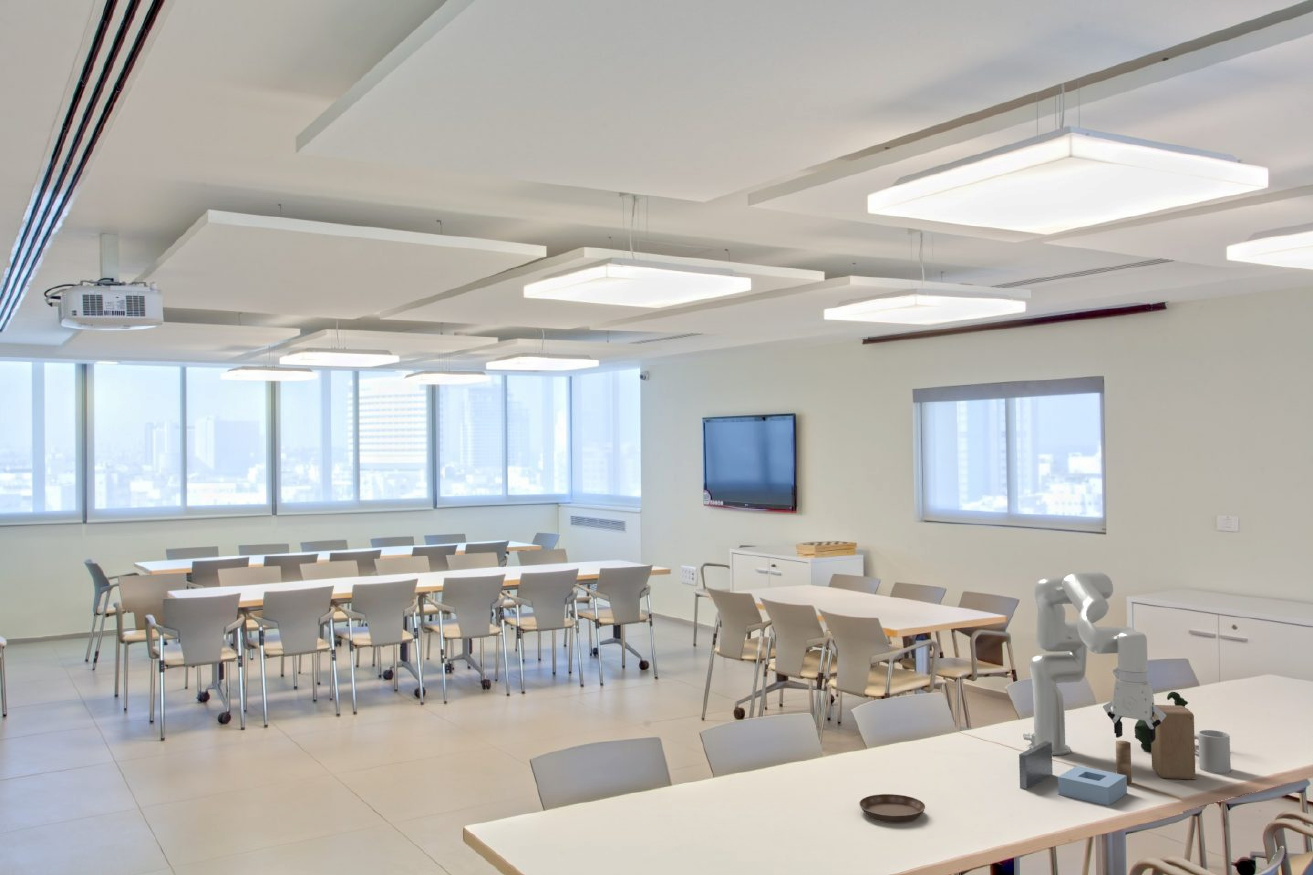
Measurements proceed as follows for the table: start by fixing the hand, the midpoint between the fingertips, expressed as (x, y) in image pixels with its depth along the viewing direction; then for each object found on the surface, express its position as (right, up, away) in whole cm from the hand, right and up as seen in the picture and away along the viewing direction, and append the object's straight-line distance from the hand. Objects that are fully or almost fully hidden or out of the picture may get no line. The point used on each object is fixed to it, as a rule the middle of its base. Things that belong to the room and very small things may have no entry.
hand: (1134, 739), depth 277 cm
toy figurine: (+33, -19, +51) cm, 64 cm away
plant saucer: (-69, -20, -5) cm, 72 cm away
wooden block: (+24, -18, +24) cm, 39 cm away
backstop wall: (-20, -19, +20) cm, 34 cm away
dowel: (+5, -18, +17) cm, 26 cm away
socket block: (-8, -18, +8) cm, 22 cm away
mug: (+38, -18, +30) cm, 52 cm away
